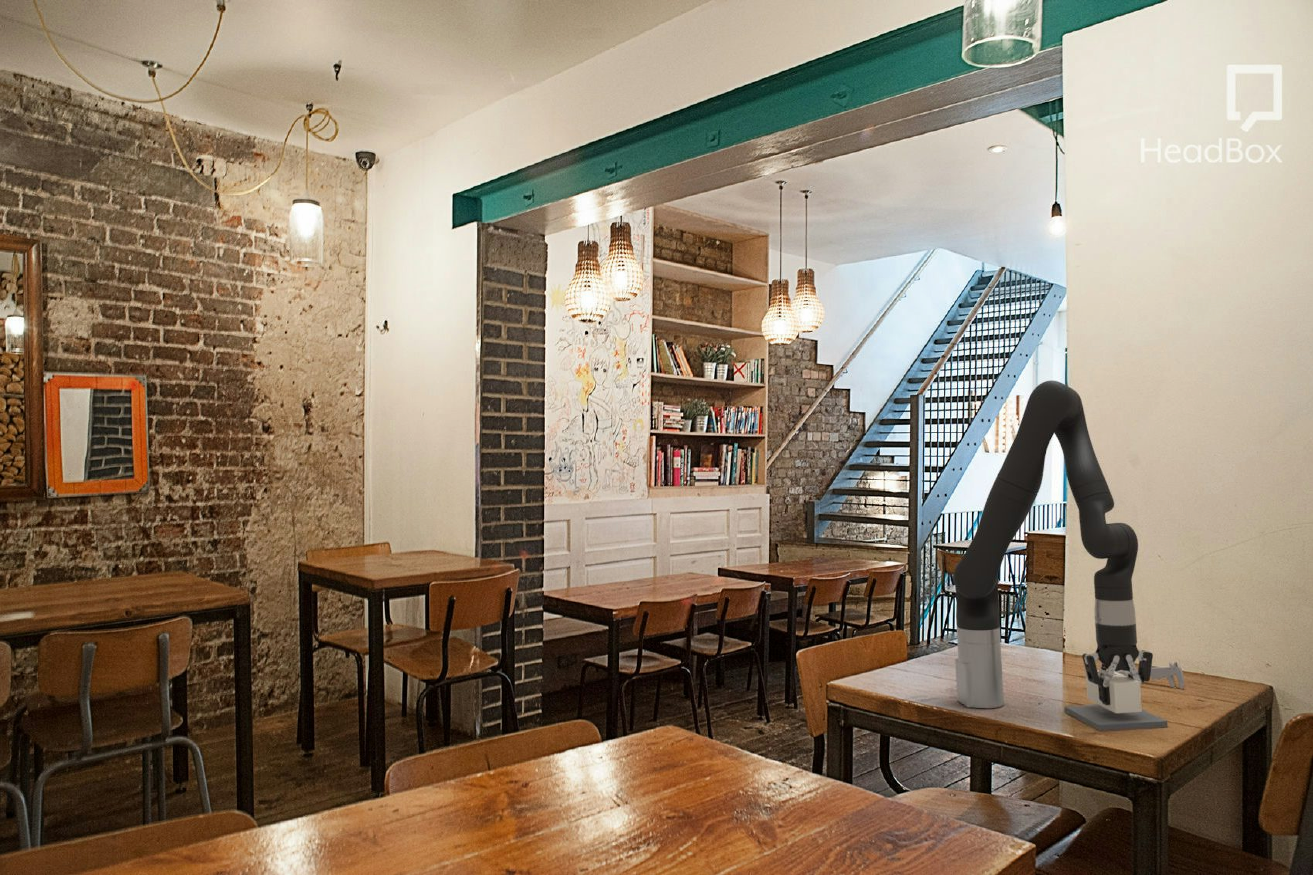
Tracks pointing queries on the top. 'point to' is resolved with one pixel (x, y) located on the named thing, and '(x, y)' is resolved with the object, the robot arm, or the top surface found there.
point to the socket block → (1118, 694)
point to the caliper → (1166, 674)
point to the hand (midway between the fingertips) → (1120, 702)
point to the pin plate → (1114, 718)
